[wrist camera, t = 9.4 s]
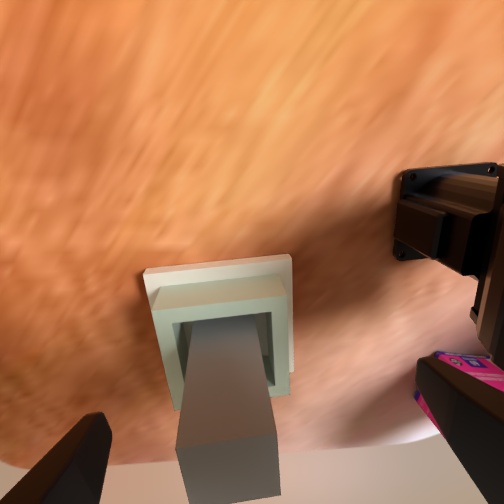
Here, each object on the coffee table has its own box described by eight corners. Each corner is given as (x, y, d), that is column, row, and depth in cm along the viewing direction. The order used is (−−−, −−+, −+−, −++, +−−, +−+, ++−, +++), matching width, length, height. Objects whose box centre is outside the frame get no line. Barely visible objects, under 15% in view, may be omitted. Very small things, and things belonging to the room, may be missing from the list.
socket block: (288, 253, 21) (303, 278, 17) (291, 363, 25) (304, 403, 21) (146, 268, 20) (129, 297, 16) (171, 378, 24) (162, 423, 20)
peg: (251, 301, 21) (276, 433, 12) (255, 346, 22) (280, 495, 13) (195, 308, 21) (175, 448, 11) (202, 353, 22) (191, 510, 13)
